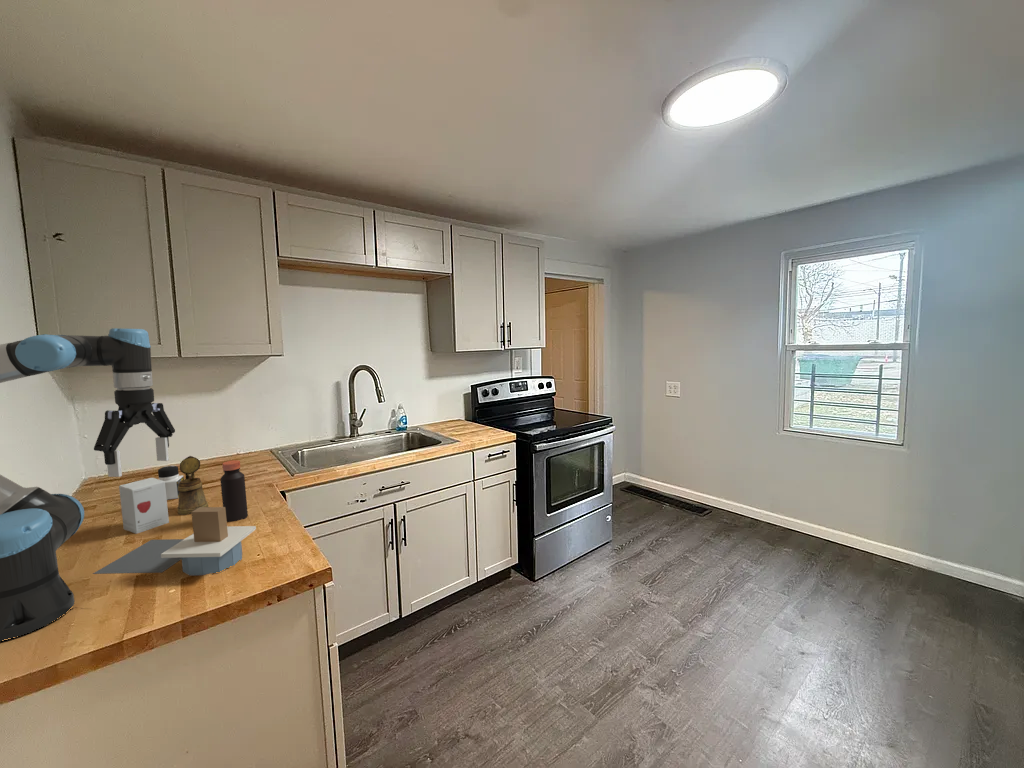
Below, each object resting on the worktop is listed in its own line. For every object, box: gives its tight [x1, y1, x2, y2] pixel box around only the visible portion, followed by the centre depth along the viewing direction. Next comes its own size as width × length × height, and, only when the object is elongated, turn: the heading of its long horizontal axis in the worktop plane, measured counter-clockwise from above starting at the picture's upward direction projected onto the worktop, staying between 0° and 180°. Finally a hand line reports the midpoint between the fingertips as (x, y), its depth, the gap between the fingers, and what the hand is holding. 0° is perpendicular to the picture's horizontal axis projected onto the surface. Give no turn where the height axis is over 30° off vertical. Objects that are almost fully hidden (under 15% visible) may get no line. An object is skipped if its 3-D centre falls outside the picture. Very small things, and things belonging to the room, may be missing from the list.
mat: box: [92, 538, 185, 575], centre depth 116 cm, size 18×18×1 cm
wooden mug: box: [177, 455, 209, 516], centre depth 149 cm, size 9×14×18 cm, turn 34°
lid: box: [161, 506, 257, 558], centre depth 111 cm, size 15×15×10 cm
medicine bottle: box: [157, 465, 185, 501], centre depth 160 cm, size 7×7×12 cm
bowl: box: [181, 541, 243, 576], centre depth 112 cm, size 13×13×6 cm
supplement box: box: [118, 477, 170, 534], centre depth 134 cm, size 9×9×15 cm
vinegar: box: [220, 459, 249, 523], centre depth 139 cm, size 7×7×20 cm
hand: (140, 468), depth 108 cm, fingers open, 13 cm apart
